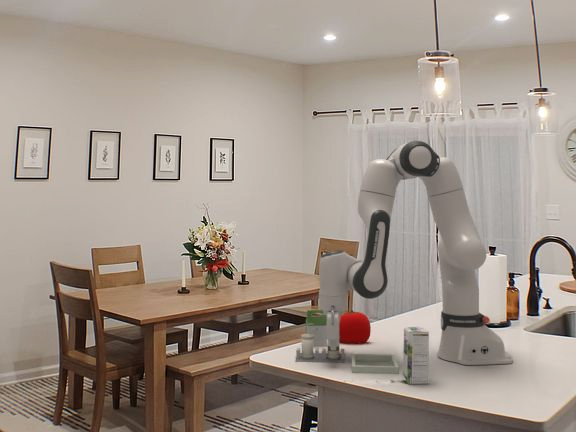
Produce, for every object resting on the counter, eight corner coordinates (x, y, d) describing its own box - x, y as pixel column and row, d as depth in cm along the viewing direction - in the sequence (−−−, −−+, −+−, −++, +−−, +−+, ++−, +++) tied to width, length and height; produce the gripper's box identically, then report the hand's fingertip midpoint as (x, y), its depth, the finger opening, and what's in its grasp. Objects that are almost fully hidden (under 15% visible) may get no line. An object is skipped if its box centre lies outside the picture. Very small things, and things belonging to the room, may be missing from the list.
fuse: (339, 356, 178) (339, 333, 178) (339, 359, 175) (339, 336, 174) (327, 355, 179) (327, 333, 179) (327, 359, 175) (326, 336, 175)
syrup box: (402, 378, 160) (402, 326, 160) (423, 377, 161) (423, 326, 160) (408, 384, 155) (408, 331, 154) (429, 384, 155) (429, 331, 154)
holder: (344, 357, 181) (344, 331, 181) (344, 366, 171) (344, 339, 171) (297, 356, 183) (297, 331, 183) (295, 365, 173) (294, 338, 173)
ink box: (326, 346, 194) (325, 307, 194) (327, 350, 190) (327, 310, 190) (305, 347, 194) (305, 308, 194) (306, 350, 190) (306, 310, 190)
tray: (394, 364, 173) (394, 354, 173) (398, 377, 161) (398, 367, 160) (351, 363, 175) (351, 353, 175) (351, 376, 162) (351, 366, 162)
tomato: (360, 350, 189) (360, 316, 189) (325, 344, 197) (325, 311, 197) (378, 343, 199) (377, 310, 199) (343, 337, 207) (343, 306, 207)
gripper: (343, 310, 166) (343, 357, 166) (343, 297, 186) (343, 339, 186) (321, 309, 166) (322, 356, 167) (324, 297, 186) (324, 339, 187)
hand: (333, 347), depth 177 cm, fingers closed on fuse, 4 cm apart
